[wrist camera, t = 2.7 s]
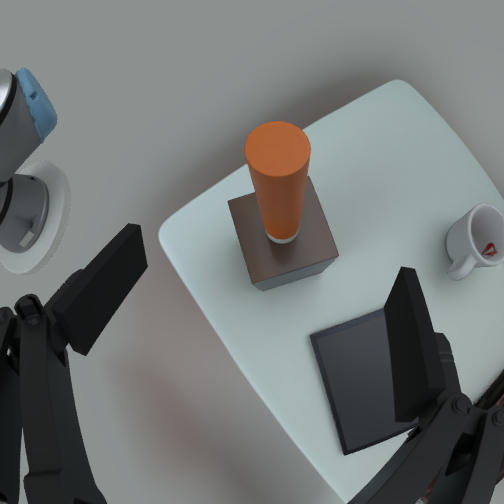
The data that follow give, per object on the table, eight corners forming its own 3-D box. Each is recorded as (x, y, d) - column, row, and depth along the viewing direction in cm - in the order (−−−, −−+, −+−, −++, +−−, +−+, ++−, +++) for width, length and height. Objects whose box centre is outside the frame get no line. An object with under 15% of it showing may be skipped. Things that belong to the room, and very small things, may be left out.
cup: (454, 300, 35) (486, 297, 27) (419, 262, 36) (447, 251, 28) (487, 245, 35) (518, 233, 27) (455, 208, 37) (482, 190, 29)
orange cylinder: (271, 248, 26) (255, 185, 13) (260, 216, 27) (236, 131, 13) (303, 237, 26) (320, 165, 13) (292, 206, 27) (296, 114, 13)
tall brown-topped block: (262, 291, 38) (252, 284, 26) (244, 232, 39) (227, 200, 28) (322, 271, 37) (339, 255, 26) (302, 213, 39) (309, 175, 27)
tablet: (343, 452, 33) (344, 456, 31) (309, 334, 36) (310, 335, 35) (421, 420, 32) (425, 422, 31) (395, 303, 36) (398, 303, 35)
